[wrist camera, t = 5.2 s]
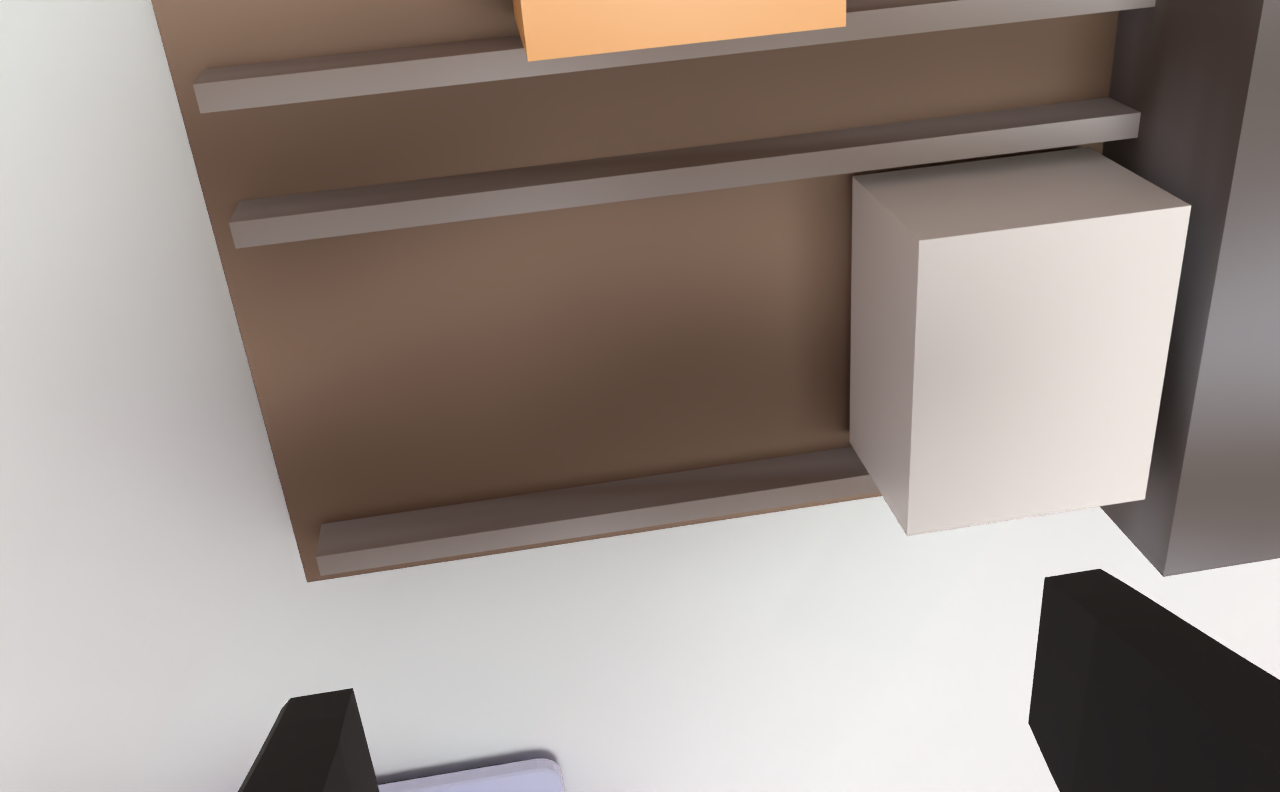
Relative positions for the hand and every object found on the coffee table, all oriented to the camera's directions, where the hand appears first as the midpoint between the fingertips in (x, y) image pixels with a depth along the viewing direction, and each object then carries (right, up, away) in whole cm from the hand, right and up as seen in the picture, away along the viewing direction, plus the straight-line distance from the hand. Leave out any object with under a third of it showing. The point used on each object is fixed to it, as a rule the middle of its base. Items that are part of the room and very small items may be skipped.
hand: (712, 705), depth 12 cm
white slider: (+5, +5, +8) cm, 11 cm away
